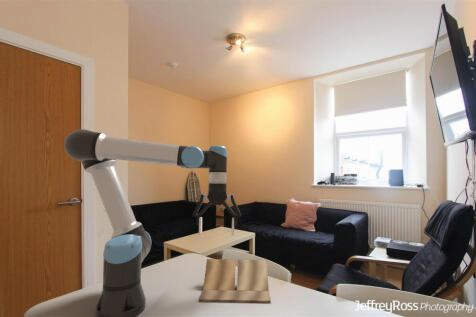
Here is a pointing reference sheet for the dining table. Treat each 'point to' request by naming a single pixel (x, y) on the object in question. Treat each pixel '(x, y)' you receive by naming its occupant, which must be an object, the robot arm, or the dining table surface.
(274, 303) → the dining table surface
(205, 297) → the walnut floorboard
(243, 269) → the square wooden panel
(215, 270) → the striped wooden square slab
